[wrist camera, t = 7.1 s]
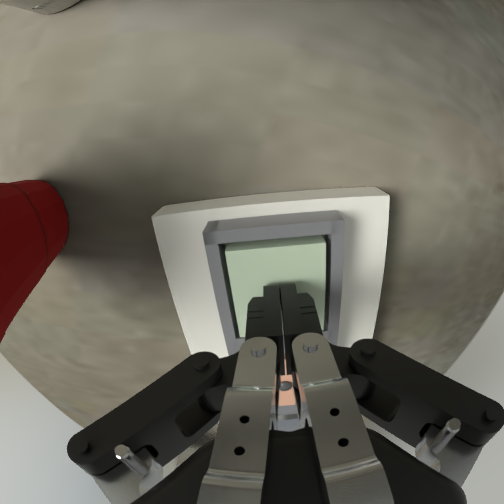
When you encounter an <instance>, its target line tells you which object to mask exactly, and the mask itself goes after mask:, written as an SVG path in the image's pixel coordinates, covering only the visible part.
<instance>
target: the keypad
mask: <svg viewBox="0 0 504 504" xmlns="http://www.w3.org/2000/svg"><path fill="white" fill-rule="evenodd" d="M389 201H390V195H388V194H386V193H385V192H383V191H381V190H380V189H378V188H376V187H354V188H333V189H316V190H302V191H289V192H276V193H265V194H255V195H245V196H235V197H227V198H218V199H210V200H202V201H194V202H186V203H179V204H172V205H165V206H163V207H162V208H161V209H159V210H158V211H157V212H156V213H155V214H154V215H153V216H152V217H151V218H152V222H153V226H154V231H155V235H156V239H157V243H158V247H159V251H160V255H161V258H162V262H163V266H164V269H165V273H166V277H167V280H168V284H169V287H170V290H171V294H172V297H173V300H174V304H175V307H176V310H177V313H178V316H179V319H180V323H181V326H182V329H183V332H184V335H185V338H186V340H187V343H188V346H189V349H190V352H191V355H192V354H194V353H197V352H203V351H207V352H212V353H214V354H216V355H217V356H218V357H219V358H223V357H227V356H230V355H233V354H235V353H236V352H238V351H239V350H240V347H241V345H242V344H243V343H244V342H245V337H240V334H239V329H238V323H237V318H236V313H235V307H234V301H233V296H232V290H231V285H230V279H229V273H228V267H227V261H226V255H225V249H226V246H227V243H233V242H244V241H255V240H266V239H277V238H289V237H300V236H312V235H322V236H323V238H324V240H325V242H326V282H325V310H324V330H322V333H323V336H324V337H325V338H326V339H327V340H328V342H329V343H331V344H333V345H336V346H341V347H350V348H351V346H352V344H353V343H355V342H356V341H358V340H360V339H372V338H373V333H374V328H375V323H376V318H377V312H378V306H379V300H380V294H381V287H382V280H383V273H384V265H385V256H386V246H387V234H388V221H389ZM283 341H284V335H283ZM284 353H285V347H284ZM288 419H298V416H297V411H296V405H286V406H279V415H278V420H288ZM218 423H219V422H218Z"/></svg>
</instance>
